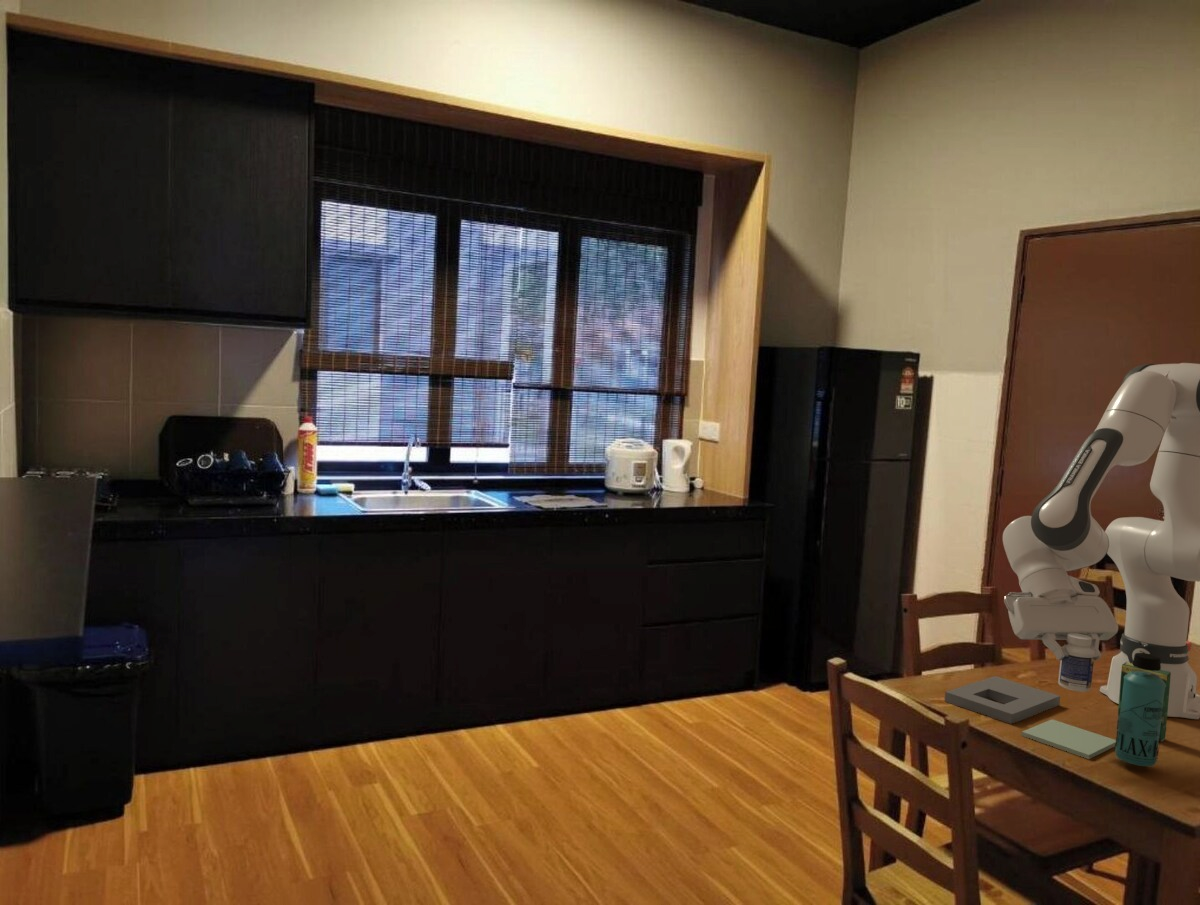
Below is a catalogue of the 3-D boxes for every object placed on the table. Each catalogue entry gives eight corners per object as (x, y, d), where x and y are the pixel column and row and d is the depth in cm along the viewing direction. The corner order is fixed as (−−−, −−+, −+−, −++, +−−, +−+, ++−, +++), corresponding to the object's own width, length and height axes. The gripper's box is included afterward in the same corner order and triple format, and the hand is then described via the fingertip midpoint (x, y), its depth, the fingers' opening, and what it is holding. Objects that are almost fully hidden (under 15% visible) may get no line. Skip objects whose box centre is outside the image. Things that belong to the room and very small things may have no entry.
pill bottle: (1095, 694, 162) (1100, 641, 161) (1063, 690, 163) (1068, 638, 162) (1084, 684, 167) (1090, 633, 166) (1054, 681, 168) (1059, 630, 167)
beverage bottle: (1104, 761, 157) (1116, 650, 155) (1130, 757, 159) (1142, 647, 158) (1139, 777, 151) (1152, 662, 149) (1165, 772, 153) (1178, 659, 152)
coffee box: (1113, 729, 173) (1120, 663, 172) (1118, 725, 175) (1125, 660, 174) (1161, 743, 167) (1168, 674, 166) (1165, 739, 169) (1173, 671, 168)
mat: (1051, 723, 174) (1052, 719, 174) (1117, 745, 165) (1117, 740, 165) (1021, 735, 167) (1021, 731, 167) (1088, 759, 157) (1089, 755, 157)
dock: (994, 684, 196) (995, 675, 195) (1059, 705, 185) (1060, 695, 184) (944, 701, 183) (945, 691, 183) (1011, 724, 172) (1012, 714, 172)
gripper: (1009, 583, 168) (1038, 650, 159) (1104, 585, 172) (1138, 650, 163) (992, 600, 173) (1020, 666, 164) (1085, 602, 177) (1117, 666, 168)
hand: (1079, 658), depth 164 cm, fingers closed on pill bottle, 5 cm apart
